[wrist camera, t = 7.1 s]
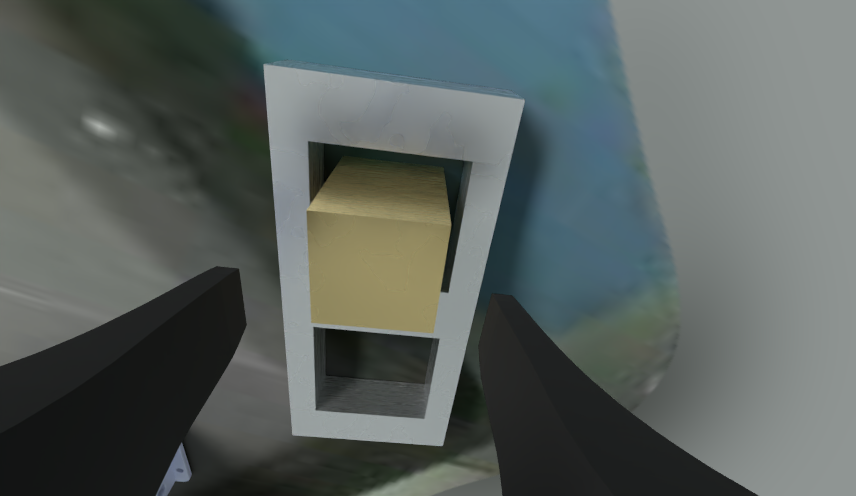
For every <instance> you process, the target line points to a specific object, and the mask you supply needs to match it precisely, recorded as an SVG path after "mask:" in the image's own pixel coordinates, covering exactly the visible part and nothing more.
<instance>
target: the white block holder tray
mask: <svg viewBox="0 0 856 496" xmlns="http://www.w3.org/2000/svg"><path fill="white" fill-rule="evenodd" d="M264 76H265V89H266V102H267V115H268V127H269V140H270V153H271V166H272V179H273V191H274V204H275V217H276V230H277V243H278V255H279V268H280V281H281V294H282V307H283V319H284V332H285V345H286V358H287V371H288V383H289V396H290V409H291V422H292V435H298V436H311V437H325V438H339V439H352V440H366V441H380V442H393V443H407V444H421V445H434V446H443V443H444V439H445V434H446V430H447V426H448V422H449V418H450V413H451V409H452V405H453V401H454V397H455V392H456V388H457V384H458V380H459V376H460V371H461V367H462V363H463V359H464V354H465V350H466V346H467V342H468V338H469V333H470V329H471V325H472V321H473V317H474V312H475V308H476V304H477V300H478V296H479V291H480V287H481V283H482V279H483V275H484V270H485V266H486V262H487V258H488V254H489V249H490V245H491V241H492V237H493V233H494V228H495V224H496V220H497V216H498V211H499V207H500V203H501V199H502V195H503V190H504V186H505V182H506V178H507V174H508V169H509V165H510V161H511V157H512V153H513V148H514V144H515V140H516V136H517V132H518V127H519V123H520V119H521V115H522V111H523V106H524V102H525V99H523V98H522V97H520V96H519V95H517V94H516V93H514V92H513V91H511V90H504V89H497V88H490V87H483V86H475V85H468V84H461V83H454V82H446V81H439V80H432V79H424V78H417V77H410V76H403V75H395V74H388V73H381V72H374V71H366V70H359V69H352V68H344V67H337V66H330V65H323V64H315V63H308V62H301V61H294V60H283V61H278V62H272V63H267V64H264ZM324 143H328V144H336V145H344V146H352V147H360V148H368V149H376V150H384V151H392V152H400V153H408V154H416V155H425V156H433V157H441V158H449V159H457V160H464V165H463V170H462V176H461V182H460V187H459V193H458V199H457V204H456V210H455V216H454V221H453V227H452V233H451V238H450V244H449V250H448V255H447V261H446V264H445V267H444V273H443V279H442V285H441V291H440V297H439V303H438V309H437V315H436V321H435V327H434V333H423V332H411V331H400V330H388V329H376V328H365V327H353V326H342V325H330V324H319V323H311V307H310V283H309V260H308V236H307V213H306V210H307V209H308V207H309V206H310V204H311V203H312V201H313V200H314V198H315V197H316V195H317V194H318V192H319V191H320V189H321V188H322V186H323V185H324ZM325 328H331V329H342V330H353V331H364V332H374V333H385V334H396V335H407V336H418V337H429V338H433V340H432V346H431V352H430V357H429V363H428V369H427V374H426V380H425V384H419V383H407V382H395V381H383V380H371V379H359V378H347V377H335V376H326V338H325Z"/></svg>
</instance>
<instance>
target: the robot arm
mask: <svg viewBox="0 0 856 496" xmlns="http://www.w3.org/2000/svg"><path fill="white" fill-rule="evenodd" d="M246 325H247V324H246V317H245V310H244V302H243V295H242V288H241V281H240V273H239V269H238V268H228V267H218V266H216V267H214V268H212V269H210V270H208V271H206V272H204V273H202V274H200V275H198V276H196V277H194V278H192V279H190V280H188V281H187V282H185V283H183V284H181V285H179V286H177V287H176V288H174V289H172V290H170V291H168V292H166V293H164V294H163V295H161V296H159V297H157V298H155V299H153V300H151V301H149V302H148V303H146V304H144V305H142V306H140V307H138V308H136V309H134V310H132V311H130V312H128V313H126V314H124V315H122V316H120V317H117V318H115V319H113V320H111V321H109V322H107V323H105V324H103V325H101V326H99V327H97V328H95V329H93V330H90V331H88V332H86V333H84V334H82V335H79V336H77V337H75V338H72V339H70V340H68V341H65V342H63V343H60V344H58V345H56V346H53V347H51V348H48V349H46V350H43V351H41V352H38V353H36V354H33V355H31V356H28V357H25V358H22V359H20V360H17V361H14V362H11V363H8V364H6V365H3V366H0V496H167V495H168V493H169V492H170V490H171V488H172V486H173V484H174V483H175V481H179V482H186V481H189V480H190V478H191V476H192V473H191V470H190V466H189V463H188V460H187V457H186V454H185V450H184V447H183V444H182V441H183V439H184V437H185V436H186V434H187V432H188V430H189V429H190V427H191V425H192V424H193V422H194V420H195V419H196V417H197V415H198V414H199V412H200V411H201V409H202V407H203V406H204V404H205V402H206V401H207V399H208V397H209V396H210V394H211V393H212V391H213V389H214V388H215V386H216V384H217V383H218V381H219V379H220V378H221V376H222V374H223V373H224V371H225V369H226V368H227V366H228V364H229V363H230V361H231V359H232V358H233V356H234V353H235V351H236V349H237V347H238V345H239V342H240V340H241V337H242V335H243V333H244V330H245V328H246ZM478 347H479V361H480V372H481V380H482V385H483V390H484V395H485V399H486V404H487V409H488V414H489V418H490V423H491V428H492V432H493V437H494V442H495V446H496V451H497V457H498V463H499V469H500V477H501V486H502V495H503V496H758V495H756V494H755V493H753V492H751V491H749V490H748V489H746V488H745V487H743V486H741V485H739V484H738V483H736V482H734V481H733V480H731V479H729V478H727V477H726V476H724V475H722V474H721V473H719V472H717V471H715V470H714V469H712V468H710V467H709V466H707V465H706V464H704V463H702V462H701V461H700V460H698V459H696V458H695V457H693V456H692V455H690V454H689V453H687V452H686V451H684V450H683V449H681V448H679V447H678V446H676V445H675V444H674V443H672V442H671V441H669V440H668V439H666V438H665V437H663V436H662V435H660V434H659V433H658V432H656V431H655V430H653V429H652V428H651V427H649V426H648V425H647V424H645V423H644V422H643V421H641V420H640V419H639V418H637V417H636V416H635V415H633V414H632V413H631V412H629V411H628V410H627V409H626V408H624V407H623V406H622V405H620V404H619V403H618V402H617V401H615V400H614V399H613V398H612V397H611V396H610V395H608V394H607V393H606V392H605V391H604V390H603V389H601V388H600V387H599V386H598V385H597V384H596V383H594V382H593V381H592V380H591V379H590V378H589V377H588V376H587V375H586V374H584V373H583V372H582V371H581V370H580V369H579V368H578V367H577V366H576V365H575V364H574V363H573V362H572V361H571V360H570V359H569V358H568V357H567V356H566V355H565V354H564V353H563V352H562V351H561V350H560V349H559V348H558V347H557V346H556V345H555V343H554V342H553V341H552V340H551V339H550V338H549V337H548V336H547V335H546V334H545V332H544V331H543V330H542V329H541V328H540V327H539V326H538V325H537V323H536V322H535V321H534V320H533V319H532V318H531V316H530V315H529V314H528V313H527V312H526V311H525V309H524V308H523V307H522V306H521V305H520V304H519V302H518V301H517V300H516V299H515V298H514V297H513V296H512V295H503V294H493V293H492V294H491V298H490V302H489V306H488V310H487V314H486V318H485V322H484V326H483V330H482V334H481V337H480V341H479V345H478Z"/></svg>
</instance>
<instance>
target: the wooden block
mask: <svg viewBox="0 0 856 496" xmlns="http://www.w3.org/2000/svg"><path fill="white" fill-rule="evenodd" d="M306 213H307V236H308V260H309V283H310V307H311V323H319V324H330V325H342V326H353V327H365V328H376V329H388V330H400V331H411V332H423V333H434V327H435V321H436V315H437V309H438V303H439V297H440V291H441V285H442V279H443V273H444V267H445V261H446V255H447V249H448V243H449V237H450V231H451V219H450V212H449V204H448V197H447V189H446V182H445V174H444V167H438V166H429V165H420V164H411V163H403V162H394V161H385V160H376V159H368V158H359V157H350V156H343V157H342V158H341V160H340V161H339V163H338V164H337V166H336V167H335V169H334V170H333V172H332V173H331V175H330V176H329V177H328V179H327V180H326V182H325V183H324V185H323V186H322V188H321V189H320V191H319V192H318V194H317V195H316V197H315V198H314V200H313V201H312V203H311V204H310V206H309V207H308V209H307V210H306Z"/></svg>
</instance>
